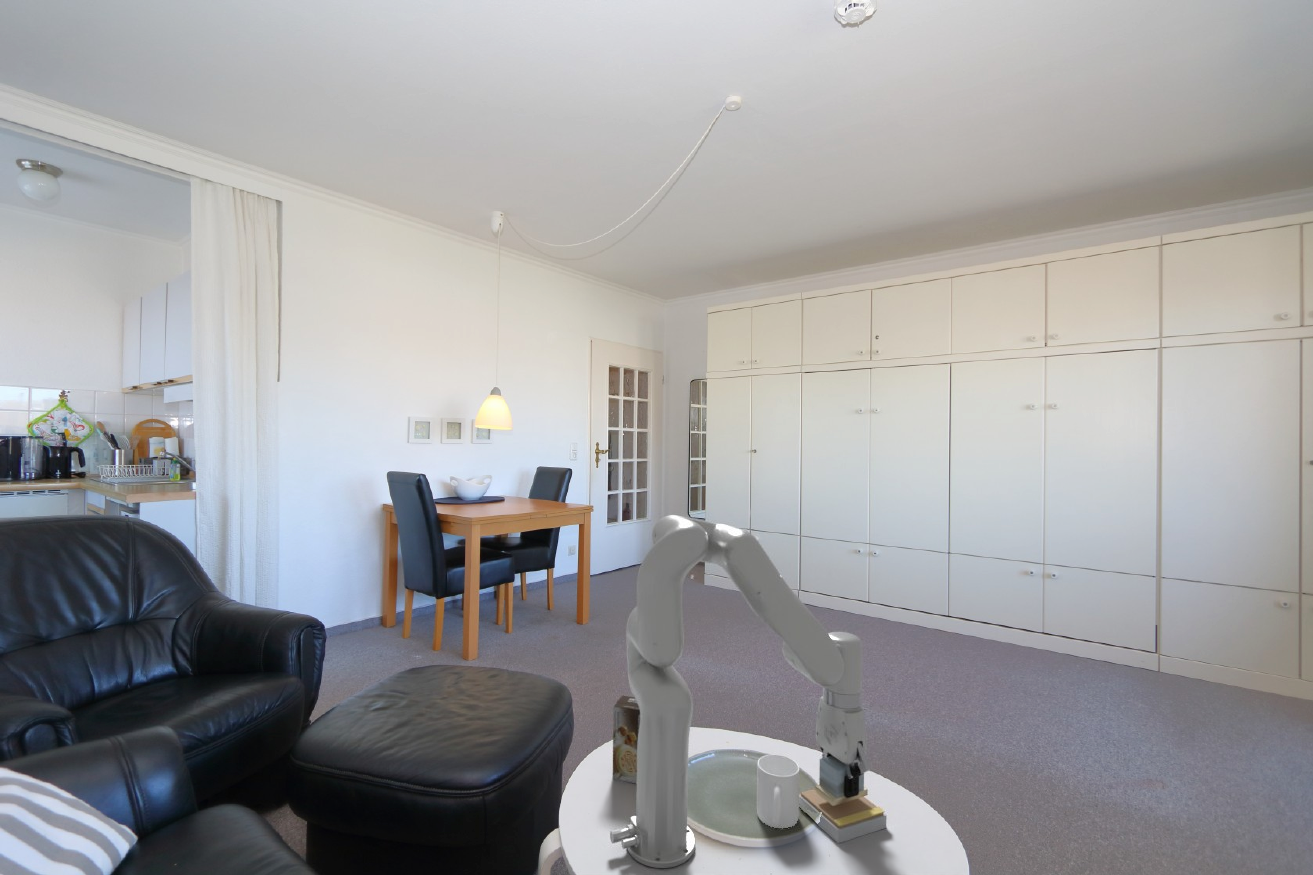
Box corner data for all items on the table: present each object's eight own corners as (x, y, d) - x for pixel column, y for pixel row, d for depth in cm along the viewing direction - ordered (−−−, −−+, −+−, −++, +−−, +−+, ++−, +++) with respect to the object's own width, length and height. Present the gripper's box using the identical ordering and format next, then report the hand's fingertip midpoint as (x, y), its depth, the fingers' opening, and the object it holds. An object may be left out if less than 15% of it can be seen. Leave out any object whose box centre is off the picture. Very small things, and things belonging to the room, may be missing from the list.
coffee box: (658, 771, 130) (660, 700, 130) (650, 787, 124) (651, 712, 124) (620, 764, 133) (622, 694, 133) (610, 779, 127) (612, 705, 127)
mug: (799, 846, 106) (799, 790, 106) (753, 838, 108) (754, 783, 108) (798, 808, 118) (799, 757, 118) (757, 801, 120) (758, 751, 120)
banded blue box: (833, 806, 111) (833, 772, 111) (815, 791, 116) (815, 759, 116) (867, 795, 115) (868, 762, 115) (849, 781, 119) (849, 750, 120)
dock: (838, 843, 107) (838, 825, 107) (797, 806, 118) (798, 790, 118) (886, 827, 112) (886, 811, 112) (843, 793, 123) (843, 778, 123)
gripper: (800, 683, 122) (799, 769, 121) (858, 717, 106) (857, 817, 106) (828, 678, 125) (827, 762, 125) (888, 711, 109) (887, 807, 109)
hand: (841, 786), depth 115 cm, fingers closed on banded blue box, 5 cm apart
